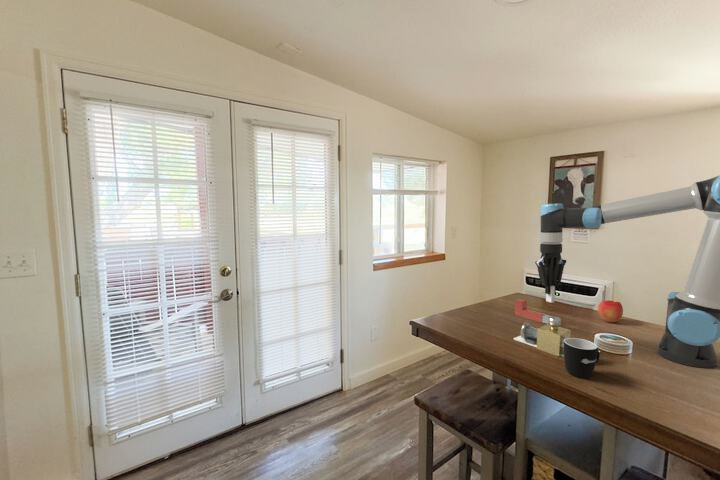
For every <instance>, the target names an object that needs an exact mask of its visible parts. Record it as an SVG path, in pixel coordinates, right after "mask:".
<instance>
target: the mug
mask: <svg viewBox="0 0 720 480" xmlns="http://www.w3.org/2000/svg"><path fill="white" fill-rule="evenodd" d="M598 348H599V347H598V345H597V343H595V342H592V341H590V340H588V339H583V338H576V337H570V338H567V339H565V340H564V357H563V358H564V359H563V361H564V365H565V366H564V367H565V370H566V372H567V373H568V374H569V375H570V376H572V377H576V378H579V379H589V378H591V377H592V375H594V371H595V368H596V364H597V363H598V362H599V359H600V357H601V356H600V354H601V353H599V351H600V350H599V349H598Z"/></svg>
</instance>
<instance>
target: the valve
mask: <svg viewBox="0 0 720 480" xmlns="http://www.w3.org/2000/svg"><path fill="white" fill-rule="evenodd" d="M519 332H520V334H519V336H520V335H521V337H522V338H523V339H526V342H527V343H530V344H532V345H534V344H537V347H536V349H537V350H538V351H542V352H544V353H548V354H551V355H552V356H553V355H554V356H556V357H561V356H560V355H561V354H563V353H564V340H565V339H567V338H571V332H572V331H571V329H568V328H565V327H561V326H551V325H549V324H547V323H546V324H544V325H542V326H540V327H534V326H532V324H531V323H530V322H523V324H522V325H521V328H520V331H519Z"/></svg>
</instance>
